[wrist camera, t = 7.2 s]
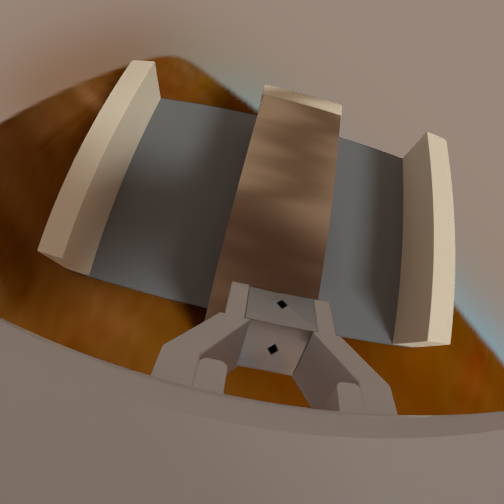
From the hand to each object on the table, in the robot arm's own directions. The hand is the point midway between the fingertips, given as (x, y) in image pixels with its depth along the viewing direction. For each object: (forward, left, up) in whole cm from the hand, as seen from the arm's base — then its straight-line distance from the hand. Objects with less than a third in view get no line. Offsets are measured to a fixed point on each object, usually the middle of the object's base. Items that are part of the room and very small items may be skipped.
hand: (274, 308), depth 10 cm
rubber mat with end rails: (0, +7, -8) cm, 10 cm away
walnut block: (0, -2, -5) cm, 6 cm away
